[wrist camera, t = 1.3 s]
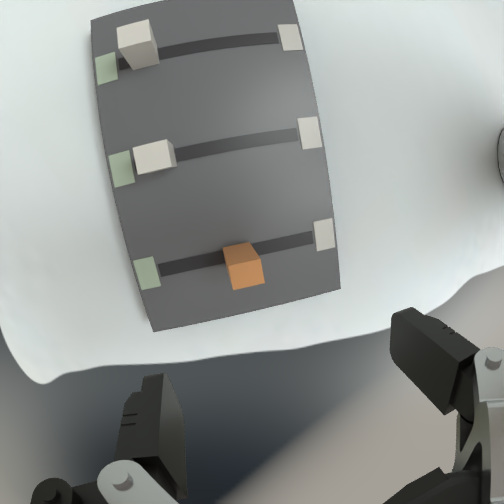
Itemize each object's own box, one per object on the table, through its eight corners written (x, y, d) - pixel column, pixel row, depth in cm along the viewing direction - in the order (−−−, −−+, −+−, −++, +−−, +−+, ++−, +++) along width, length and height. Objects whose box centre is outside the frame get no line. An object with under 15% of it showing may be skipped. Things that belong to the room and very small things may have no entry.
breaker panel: (281, 1, 21) (307, -41, 14) (329, 278, 29) (367, 312, 22) (98, 31, 19) (71, -6, 12) (156, 318, 27) (146, 365, 20)
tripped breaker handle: (249, 241, 23) (260, 258, 19) (252, 262, 24) (264, 283, 20) (222, 247, 23) (227, 265, 19) (226, 267, 24) (233, 290, 20)
